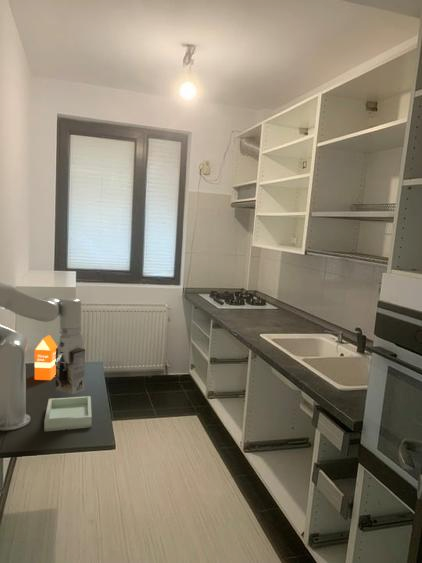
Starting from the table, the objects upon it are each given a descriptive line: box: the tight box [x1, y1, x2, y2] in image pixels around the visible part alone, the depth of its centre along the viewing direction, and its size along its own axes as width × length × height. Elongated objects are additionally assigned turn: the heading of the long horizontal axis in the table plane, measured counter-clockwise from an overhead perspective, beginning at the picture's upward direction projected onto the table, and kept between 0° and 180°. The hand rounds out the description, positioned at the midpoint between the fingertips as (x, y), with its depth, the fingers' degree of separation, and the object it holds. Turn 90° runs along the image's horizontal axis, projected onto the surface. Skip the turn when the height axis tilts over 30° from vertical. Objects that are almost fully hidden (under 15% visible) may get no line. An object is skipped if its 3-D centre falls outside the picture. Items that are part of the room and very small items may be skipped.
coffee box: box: [55, 347, 86, 395], centre depth 154 cm, size 9×6×16 cm
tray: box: [43, 395, 93, 432], centre depth 155 cm, size 20×16×4 cm
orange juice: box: [34, 334, 58, 381], centre depth 197 cm, size 8×9×20 cm
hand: (69, 376), depth 154 cm, fingers closed on coffee box, 7 cm apart
